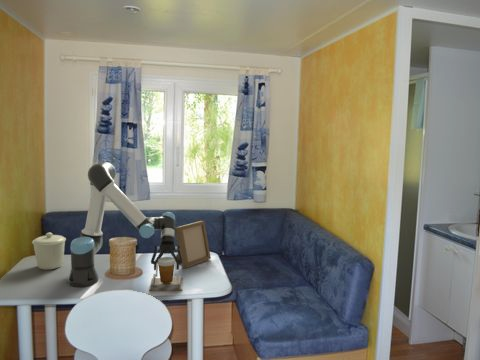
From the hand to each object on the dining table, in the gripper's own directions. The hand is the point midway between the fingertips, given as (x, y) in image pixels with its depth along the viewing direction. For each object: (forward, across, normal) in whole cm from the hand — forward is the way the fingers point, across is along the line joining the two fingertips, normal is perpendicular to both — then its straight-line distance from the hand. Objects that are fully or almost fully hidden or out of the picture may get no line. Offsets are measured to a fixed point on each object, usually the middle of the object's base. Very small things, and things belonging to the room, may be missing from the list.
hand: (166, 275), depth 208 cm
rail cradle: (+2, 0, -7) cm, 7 cm away
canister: (-20, +70, -30) cm, 79 cm away
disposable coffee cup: (+1, 0, -5) cm, 6 cm away
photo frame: (-23, -13, -32) cm, 42 cm away
